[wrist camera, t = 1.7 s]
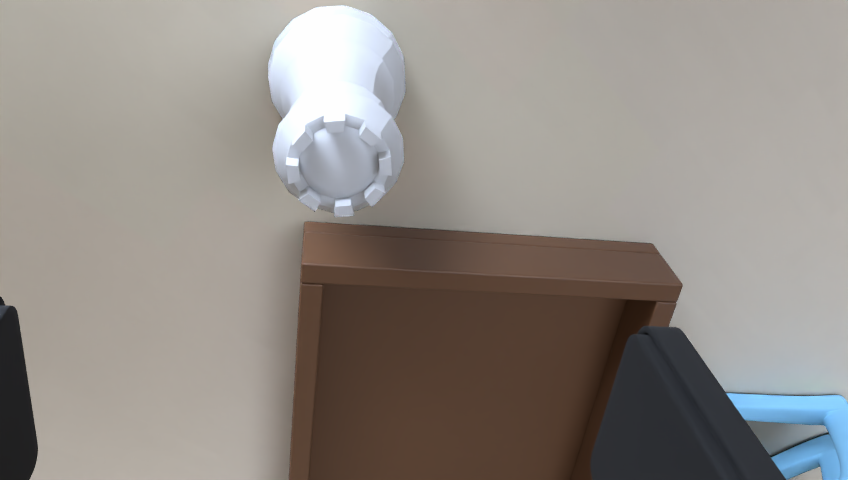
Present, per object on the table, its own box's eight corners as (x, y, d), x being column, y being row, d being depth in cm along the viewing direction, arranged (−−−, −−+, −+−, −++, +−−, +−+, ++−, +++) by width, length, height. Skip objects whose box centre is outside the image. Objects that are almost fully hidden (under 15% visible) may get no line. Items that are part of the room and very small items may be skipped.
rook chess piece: (348, -29, 23) (354, 38, 16) (431, 82, 25) (468, 183, 18) (239, 58, 24) (202, 156, 17) (328, 158, 26) (326, 281, 19)
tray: (304, 220, 27) (301, 263, 25) (653, 243, 29) (684, 284, 27) (285, 543, 36) (281, 600, 33) (557, 543, 38) (573, 597, 35)
